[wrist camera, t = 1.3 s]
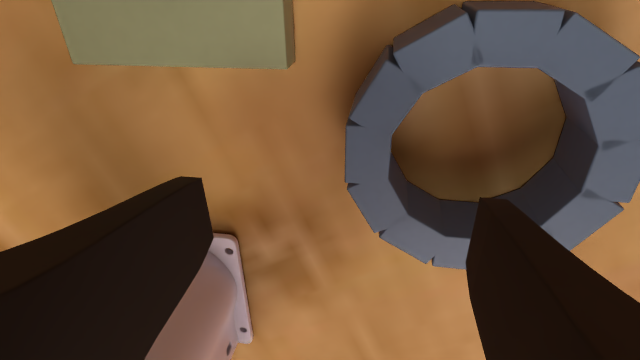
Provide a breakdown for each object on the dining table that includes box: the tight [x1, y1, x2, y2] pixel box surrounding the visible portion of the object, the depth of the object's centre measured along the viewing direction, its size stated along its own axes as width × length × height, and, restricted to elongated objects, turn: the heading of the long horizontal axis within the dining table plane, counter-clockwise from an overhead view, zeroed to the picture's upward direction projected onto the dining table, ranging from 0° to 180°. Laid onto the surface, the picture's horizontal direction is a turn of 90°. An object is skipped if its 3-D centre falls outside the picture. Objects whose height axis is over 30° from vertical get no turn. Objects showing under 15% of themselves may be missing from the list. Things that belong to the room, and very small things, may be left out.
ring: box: [345, 1, 640, 269], centre depth 16 cm, size 11×11×3 cm
